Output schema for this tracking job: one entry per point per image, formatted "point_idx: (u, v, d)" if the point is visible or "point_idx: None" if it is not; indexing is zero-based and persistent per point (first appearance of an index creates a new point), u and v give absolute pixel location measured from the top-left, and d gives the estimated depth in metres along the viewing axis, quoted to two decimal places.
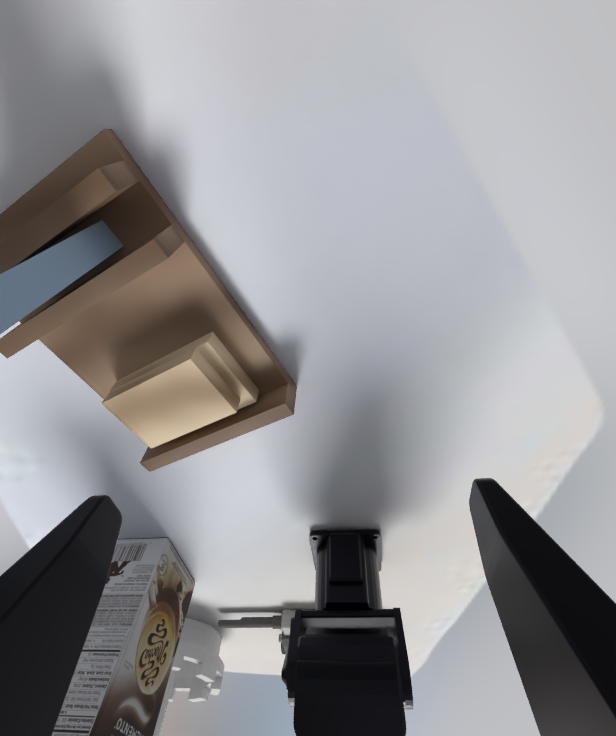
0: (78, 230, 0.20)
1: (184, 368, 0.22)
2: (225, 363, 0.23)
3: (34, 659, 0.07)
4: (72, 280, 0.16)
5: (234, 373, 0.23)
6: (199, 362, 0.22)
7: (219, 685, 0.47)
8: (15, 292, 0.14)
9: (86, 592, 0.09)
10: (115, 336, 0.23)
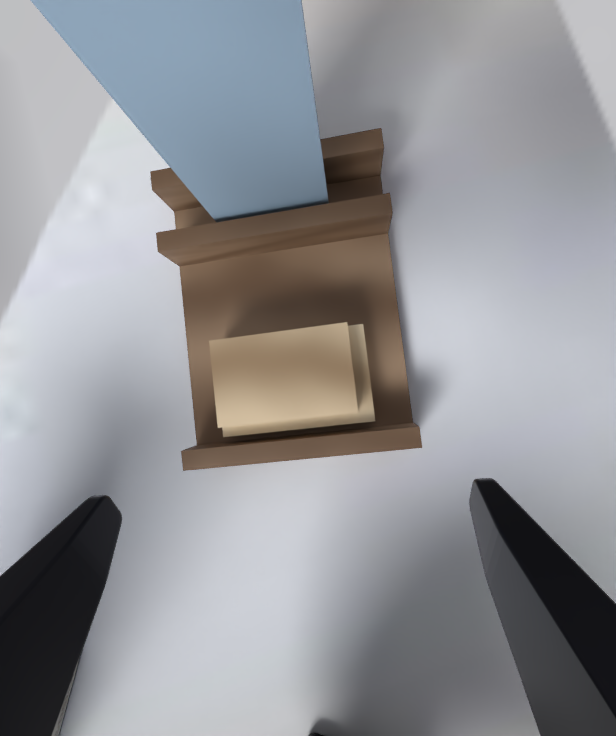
0: None
1: (333, 331, 0.19)
2: (366, 357, 0.20)
3: (34, 659, 0.07)
4: (323, 168, 0.17)
5: None
6: None
7: None
8: None
9: (86, 592, 0.09)
10: (258, 296, 0.22)
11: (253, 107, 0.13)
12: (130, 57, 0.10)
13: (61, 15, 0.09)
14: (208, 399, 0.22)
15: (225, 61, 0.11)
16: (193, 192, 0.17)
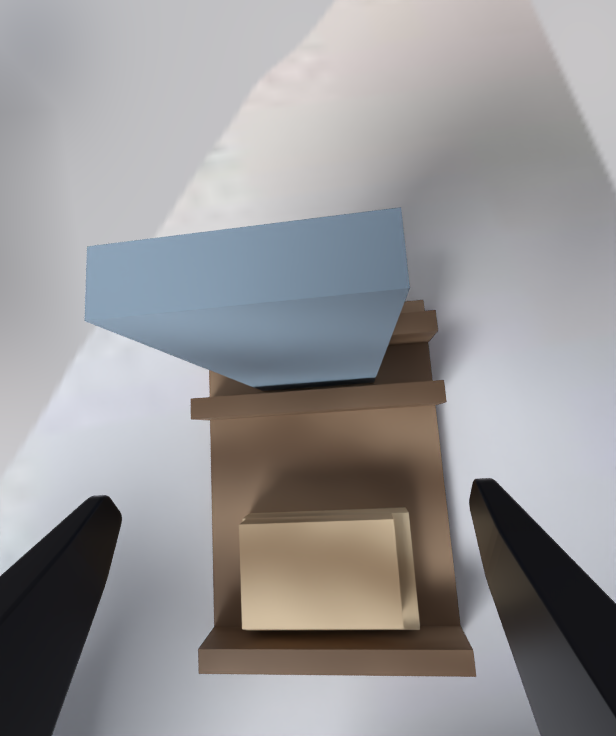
0: None
1: (378, 528, 0.17)
2: (411, 551, 0.18)
3: (34, 659, 0.07)
4: (378, 367, 0.16)
5: None
6: None
7: None
8: None
9: (86, 592, 0.09)
10: (293, 461, 0.20)
11: (319, 352, 0.12)
12: (199, 341, 0.09)
13: (131, 330, 0.08)
14: (230, 573, 0.20)
15: (300, 339, 0.10)
16: (237, 380, 0.16)
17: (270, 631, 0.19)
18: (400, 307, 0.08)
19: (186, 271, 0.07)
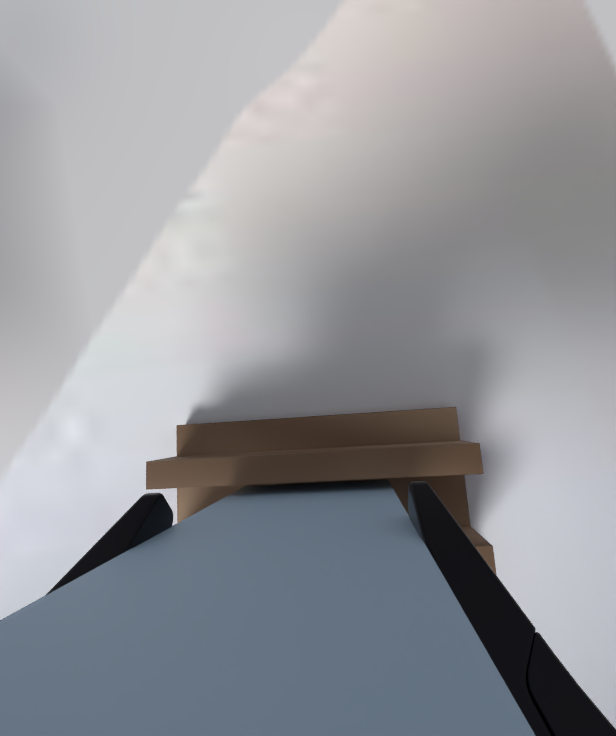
0: None
1: None
2: None
3: None
4: None
5: None
6: None
7: None
8: None
9: None
10: None
11: None
12: None
13: None
14: None
15: None
16: None
17: None
18: None
19: None
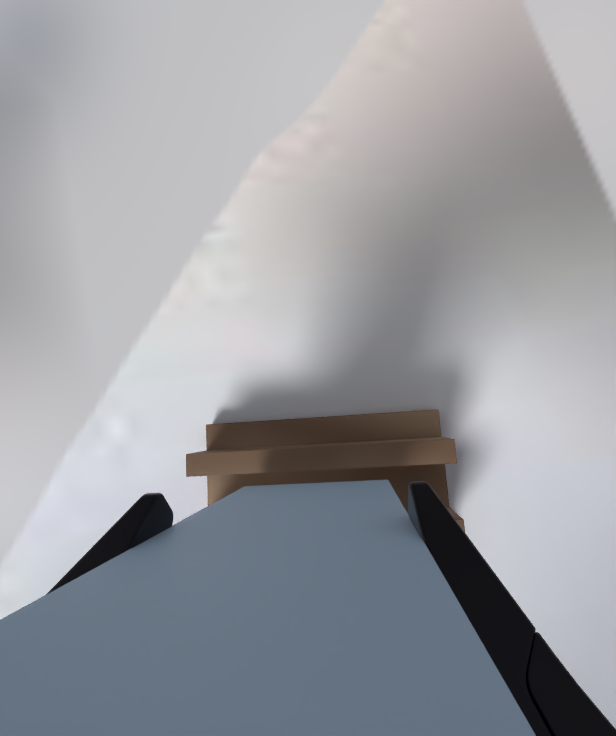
0: None
1: None
2: None
3: None
4: None
5: None
6: None
7: None
8: None
9: None
10: None
11: None
12: None
13: None
14: None
15: None
16: None
17: None
18: None
19: None
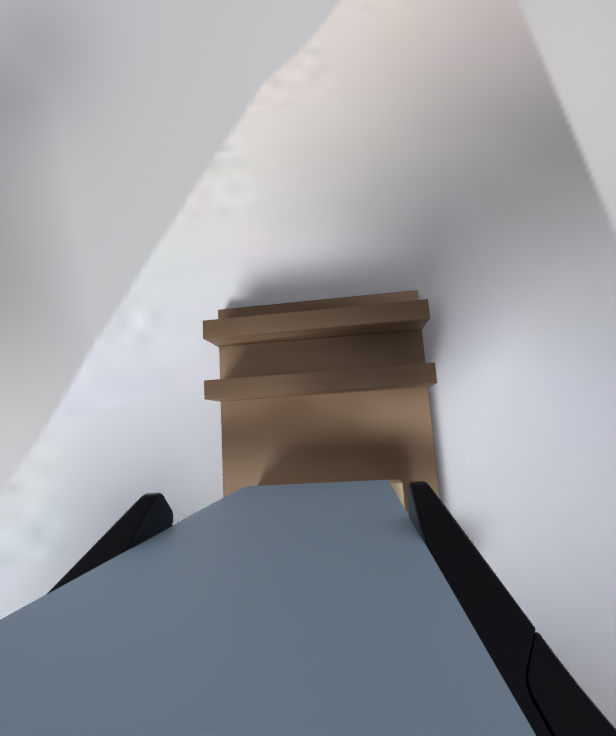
0: (343, 339, 0.23)
1: None
2: None
3: None
4: None
5: None
6: None
7: None
8: None
9: None
10: (297, 438, 0.22)
11: None
12: None
13: None
14: None
15: None
16: None
17: None
18: None
19: None
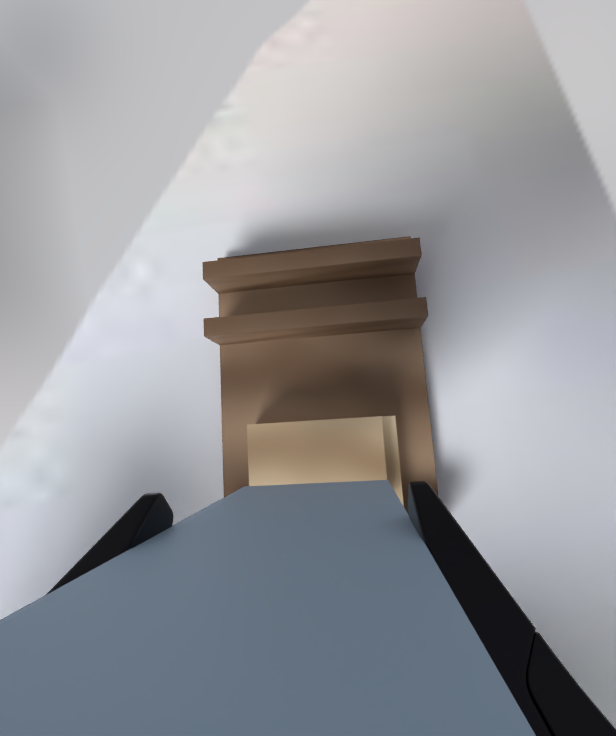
0: (338, 284, 0.23)
1: (368, 424, 0.19)
2: (397, 448, 0.20)
3: None
4: None
5: (399, 465, 0.20)
6: None
7: None
8: None
9: None
10: (294, 378, 0.23)
11: None
12: None
13: None
14: (238, 476, 0.22)
15: None
16: None
17: None
18: None
19: None
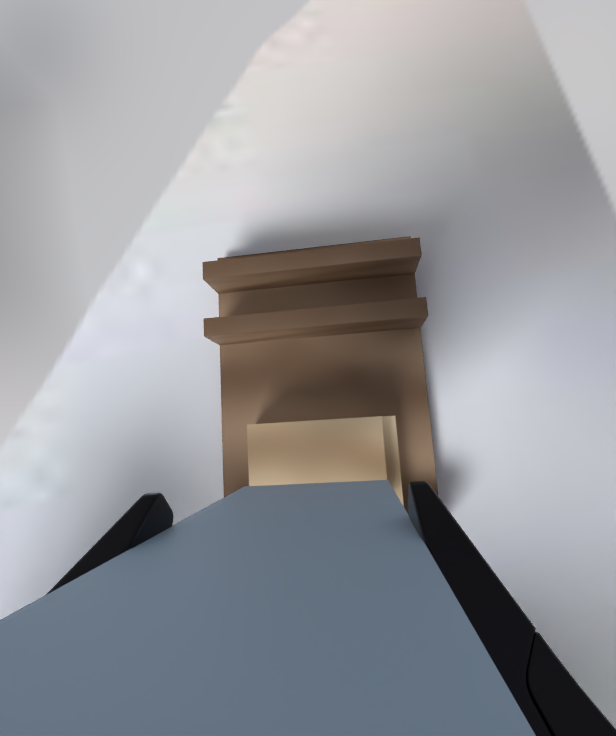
0: (338, 284, 0.23)
1: (368, 424, 0.19)
2: (397, 448, 0.20)
3: None
4: None
5: (399, 465, 0.20)
6: None
7: None
8: None
9: None
10: (294, 378, 0.23)
11: None
12: None
13: None
14: (238, 476, 0.22)
15: None
16: None
17: None
18: None
19: None
